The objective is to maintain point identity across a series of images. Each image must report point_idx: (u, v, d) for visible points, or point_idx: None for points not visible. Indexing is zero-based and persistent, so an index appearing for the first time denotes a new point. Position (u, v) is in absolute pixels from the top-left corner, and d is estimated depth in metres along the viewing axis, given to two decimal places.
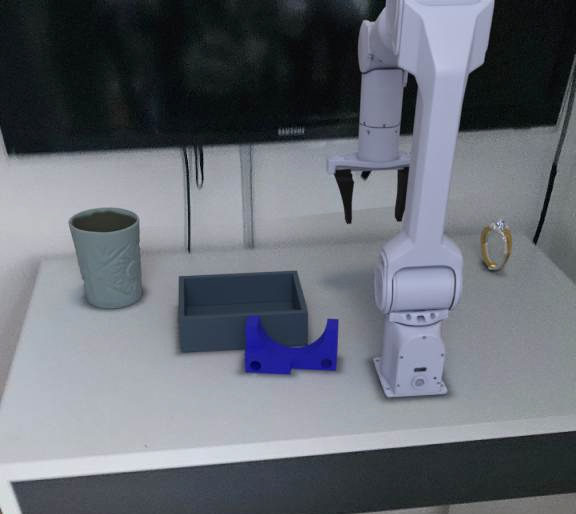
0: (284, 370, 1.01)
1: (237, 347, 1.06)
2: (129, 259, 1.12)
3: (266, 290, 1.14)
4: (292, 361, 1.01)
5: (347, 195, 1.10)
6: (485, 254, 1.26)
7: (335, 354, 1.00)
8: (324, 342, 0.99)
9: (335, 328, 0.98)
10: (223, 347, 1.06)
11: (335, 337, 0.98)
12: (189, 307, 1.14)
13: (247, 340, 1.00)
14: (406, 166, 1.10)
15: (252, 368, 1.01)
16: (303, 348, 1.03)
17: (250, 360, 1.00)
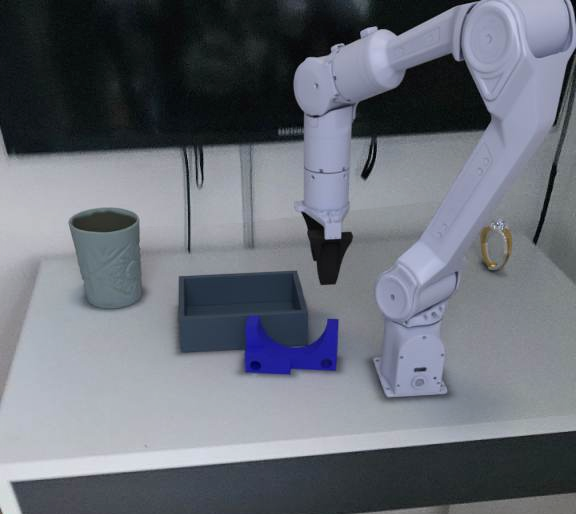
0: (284, 370, 1.01)
1: (237, 347, 1.06)
2: (129, 259, 1.12)
3: (266, 290, 1.14)
4: (292, 361, 1.01)
5: None
6: (485, 254, 1.26)
7: (335, 354, 1.00)
8: (324, 342, 0.99)
9: (335, 328, 0.98)
10: (223, 347, 1.06)
11: (335, 337, 0.98)
12: (189, 307, 1.14)
13: (247, 340, 1.00)
14: None
15: (252, 368, 1.01)
16: (303, 348, 1.03)
17: (250, 360, 1.00)
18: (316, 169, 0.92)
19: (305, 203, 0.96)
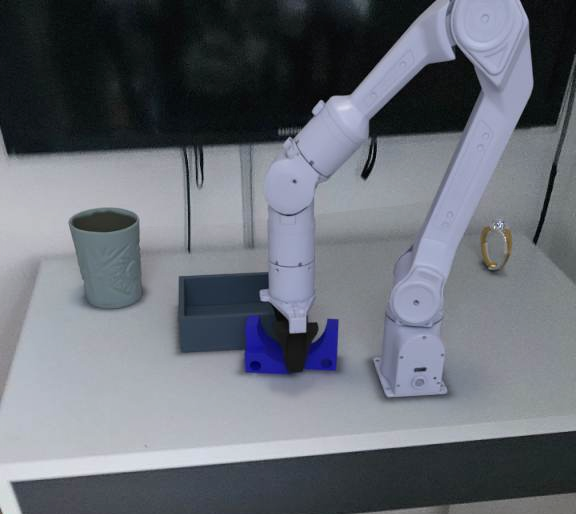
0: (284, 370, 1.01)
1: (237, 347, 1.06)
2: (129, 259, 1.12)
3: None
4: None
5: None
6: (485, 254, 1.26)
7: (335, 354, 1.00)
8: (324, 342, 0.99)
9: (335, 328, 0.98)
10: (223, 347, 1.06)
11: (335, 337, 0.98)
12: (189, 307, 1.14)
13: (247, 340, 1.00)
14: None
15: (252, 368, 1.01)
16: None
17: (250, 360, 1.00)
18: (295, 264, 0.90)
19: (270, 293, 0.95)
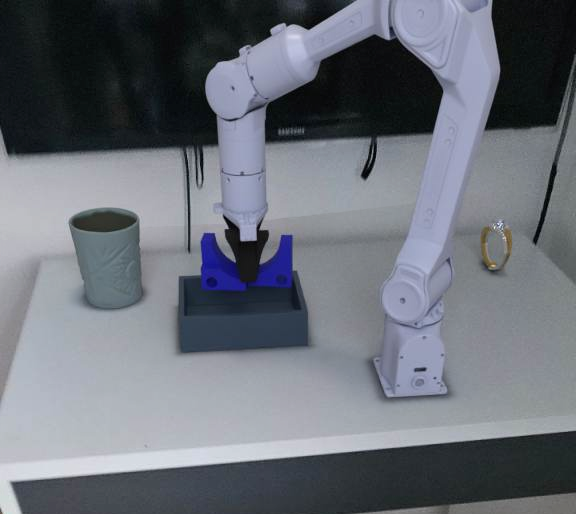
0: (240, 286, 1.03)
1: (237, 347, 1.06)
2: (129, 259, 1.12)
3: (266, 290, 1.14)
4: None
5: None
6: (485, 254, 1.26)
7: (289, 269, 1.02)
8: (278, 257, 1.01)
9: (288, 242, 1.00)
10: (223, 347, 1.06)
11: (289, 252, 1.01)
12: (189, 307, 1.14)
13: (203, 257, 1.02)
14: None
15: (209, 285, 1.03)
16: (259, 266, 1.05)
17: (206, 276, 1.02)
18: (237, 172, 0.93)
19: (223, 205, 0.97)
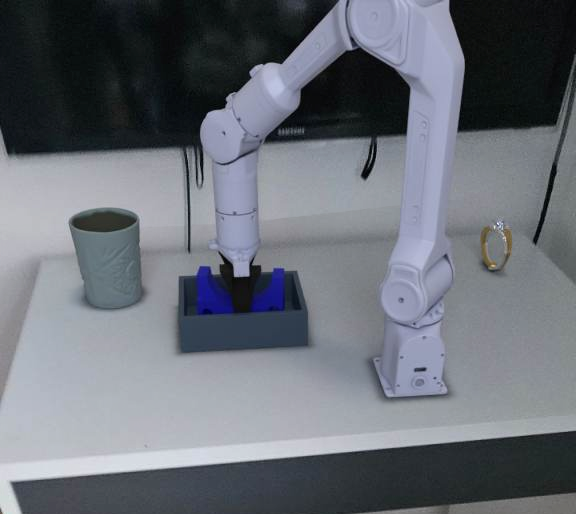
0: None
1: (237, 347, 1.06)
2: (129, 259, 1.12)
3: None
4: None
5: None
6: (485, 254, 1.26)
7: (281, 301, 1.07)
8: (271, 289, 1.06)
9: (280, 276, 1.05)
10: (223, 347, 1.06)
11: (280, 285, 1.06)
12: (189, 307, 1.14)
13: (199, 289, 1.07)
14: None
15: None
16: None
17: (202, 308, 1.07)
18: (230, 212, 0.98)
19: (218, 241, 1.02)
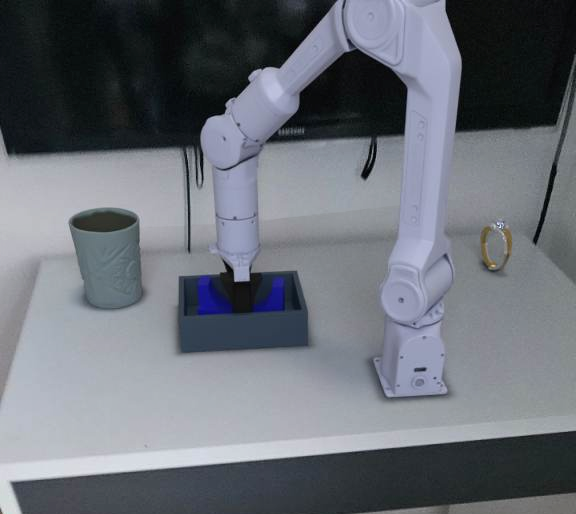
0: None
1: (237, 347, 1.06)
2: (129, 259, 1.12)
3: (266, 290, 1.14)
4: None
5: None
6: (485, 254, 1.26)
7: None
8: (271, 299, 1.07)
9: (280, 285, 1.06)
10: (223, 347, 1.06)
11: (281, 294, 1.07)
12: (189, 307, 1.14)
13: (200, 298, 1.08)
14: None
15: None
16: (253, 306, 1.11)
17: None
18: (230, 217, 0.98)
19: (218, 246, 1.02)
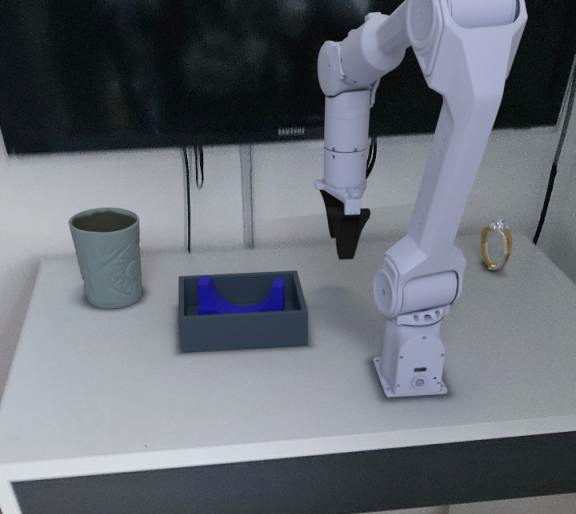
0: None
1: (237, 347, 1.06)
2: (129, 259, 1.12)
3: (266, 290, 1.14)
4: None
5: None
6: (485, 254, 1.26)
7: None
8: (271, 299, 1.07)
9: (280, 285, 1.06)
10: (223, 347, 1.06)
11: (281, 294, 1.07)
12: (189, 307, 1.14)
13: (200, 298, 1.08)
14: None
15: None
16: (253, 306, 1.11)
17: None
18: (330, 147, 0.98)
19: (325, 181, 1.02)
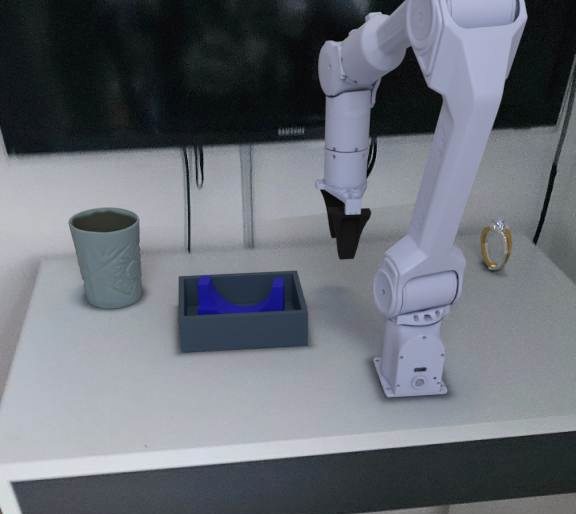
0: None
1: (237, 347, 1.06)
2: (129, 259, 1.12)
3: (266, 290, 1.14)
4: None
5: None
6: (485, 254, 1.26)
7: None
8: (271, 299, 1.07)
9: (280, 285, 1.06)
10: (223, 347, 1.06)
11: (281, 294, 1.07)
12: (189, 307, 1.14)
13: (200, 298, 1.08)
14: None
15: None
16: (253, 306, 1.11)
17: None
18: (330, 147, 0.99)
19: (326, 181, 1.02)
